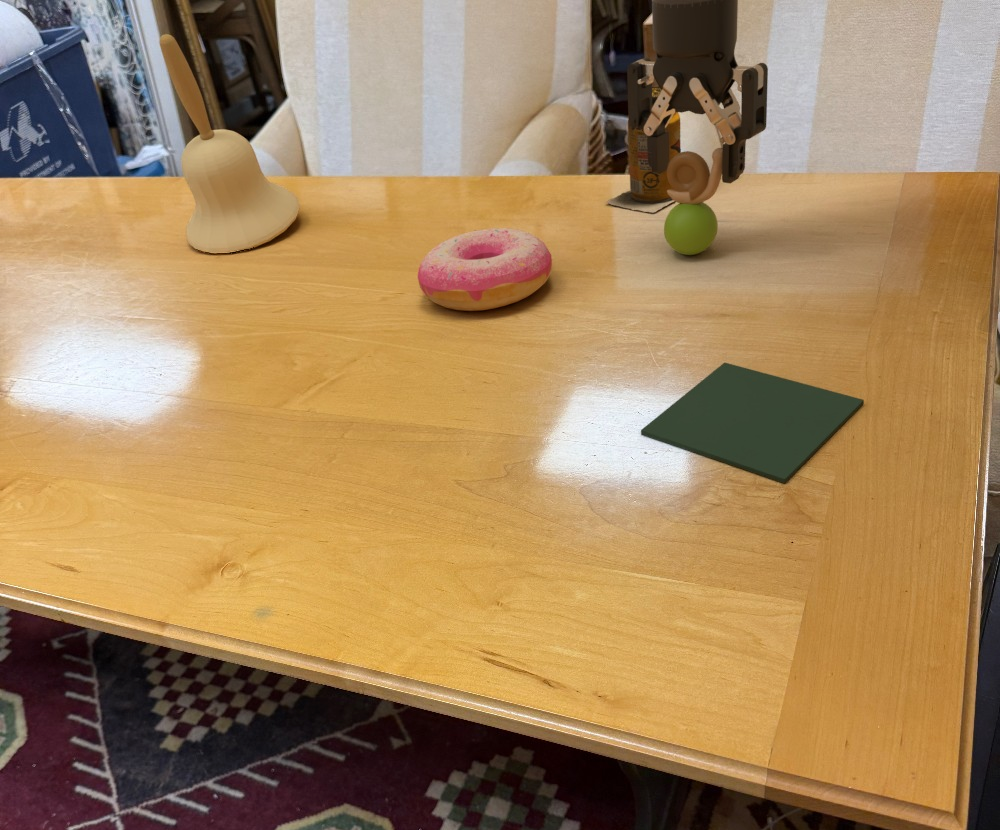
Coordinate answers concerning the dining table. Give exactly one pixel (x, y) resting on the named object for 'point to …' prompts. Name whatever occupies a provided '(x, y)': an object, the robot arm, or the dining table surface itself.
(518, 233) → the donut
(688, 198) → the snail figurine
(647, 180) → the condiment
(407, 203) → the dining table surface
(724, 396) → the mat
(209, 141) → the handbell
